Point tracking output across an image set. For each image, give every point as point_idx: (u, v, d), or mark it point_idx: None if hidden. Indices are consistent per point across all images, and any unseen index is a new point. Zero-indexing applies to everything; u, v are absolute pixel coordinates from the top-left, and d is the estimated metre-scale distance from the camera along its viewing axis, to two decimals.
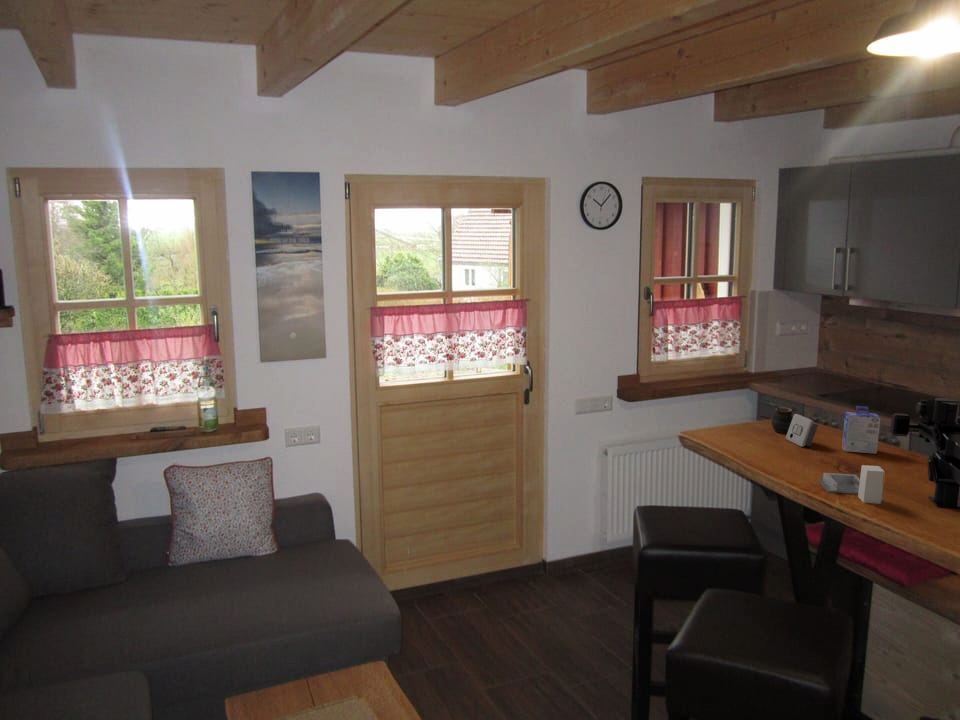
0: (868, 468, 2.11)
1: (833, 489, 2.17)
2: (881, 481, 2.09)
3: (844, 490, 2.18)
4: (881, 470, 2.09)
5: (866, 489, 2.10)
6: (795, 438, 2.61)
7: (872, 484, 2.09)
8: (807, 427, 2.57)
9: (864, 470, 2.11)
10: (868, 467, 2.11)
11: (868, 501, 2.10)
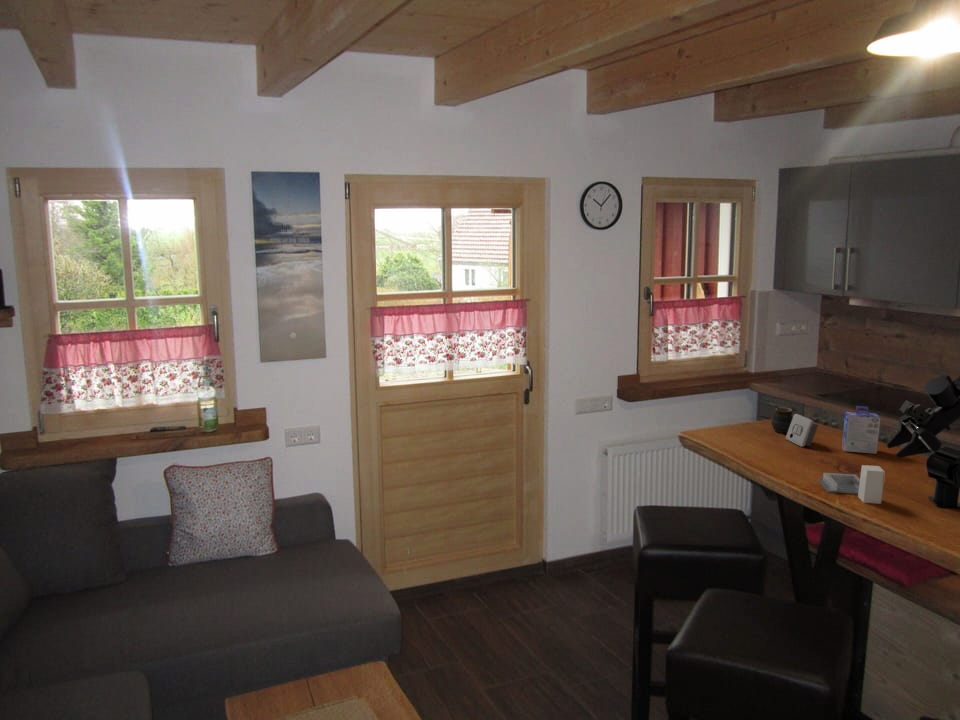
0: (868, 468, 2.11)
1: (833, 489, 2.17)
2: (881, 481, 2.09)
3: (844, 490, 2.18)
4: (881, 470, 2.09)
5: (866, 489, 2.10)
6: (795, 438, 2.61)
7: (872, 484, 2.09)
8: (807, 427, 2.57)
9: (864, 470, 2.11)
10: (868, 467, 2.11)
11: (868, 501, 2.10)
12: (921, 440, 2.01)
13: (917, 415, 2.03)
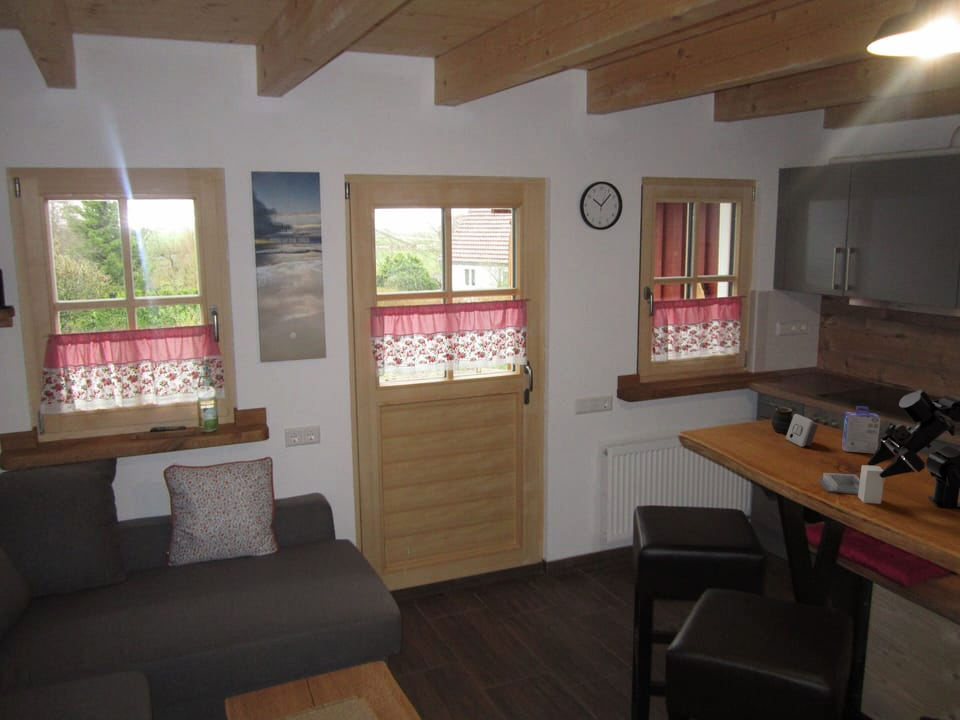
0: (868, 468, 2.11)
1: (833, 489, 2.17)
2: (881, 481, 2.09)
3: (844, 490, 2.18)
4: (881, 470, 2.09)
5: (866, 489, 2.10)
6: (795, 438, 2.61)
7: (872, 484, 2.09)
8: (807, 427, 2.57)
9: (864, 470, 2.11)
10: (868, 467, 2.11)
11: (868, 501, 2.10)
12: (905, 460, 2.01)
13: (899, 435, 2.04)
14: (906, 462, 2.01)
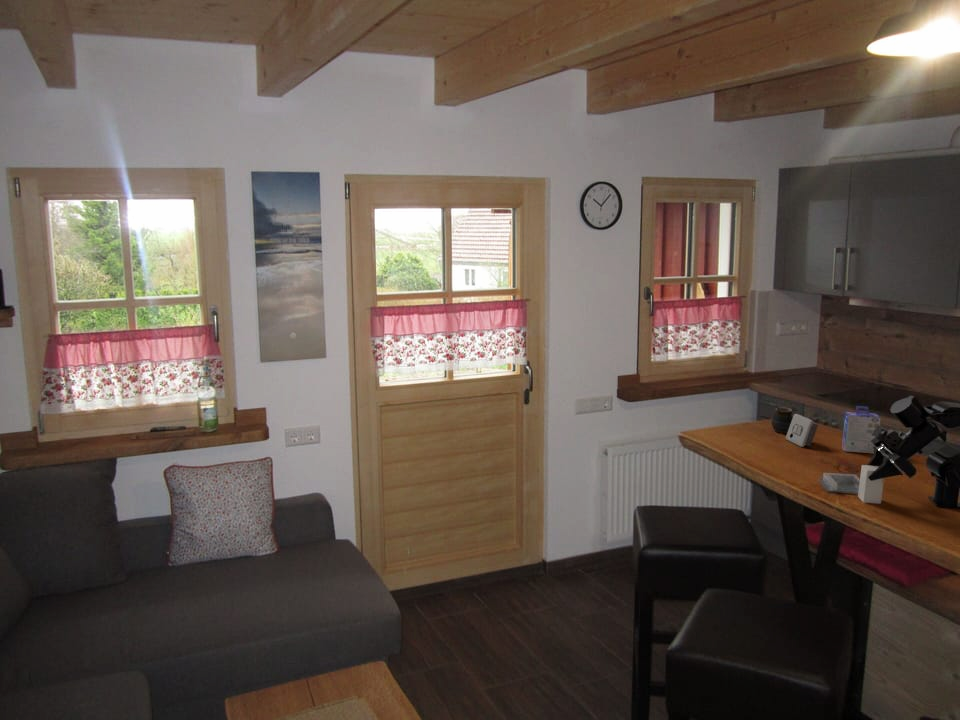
0: (868, 467, 2.11)
1: (833, 489, 2.17)
2: (881, 481, 2.09)
3: (844, 490, 2.18)
4: None
5: (866, 489, 2.10)
6: (795, 438, 2.61)
7: (872, 484, 2.09)
8: (807, 427, 2.57)
9: (864, 470, 2.11)
10: (868, 467, 2.11)
11: (868, 501, 2.10)
12: (893, 463, 2.04)
13: (891, 441, 2.04)
14: (894, 465, 2.04)
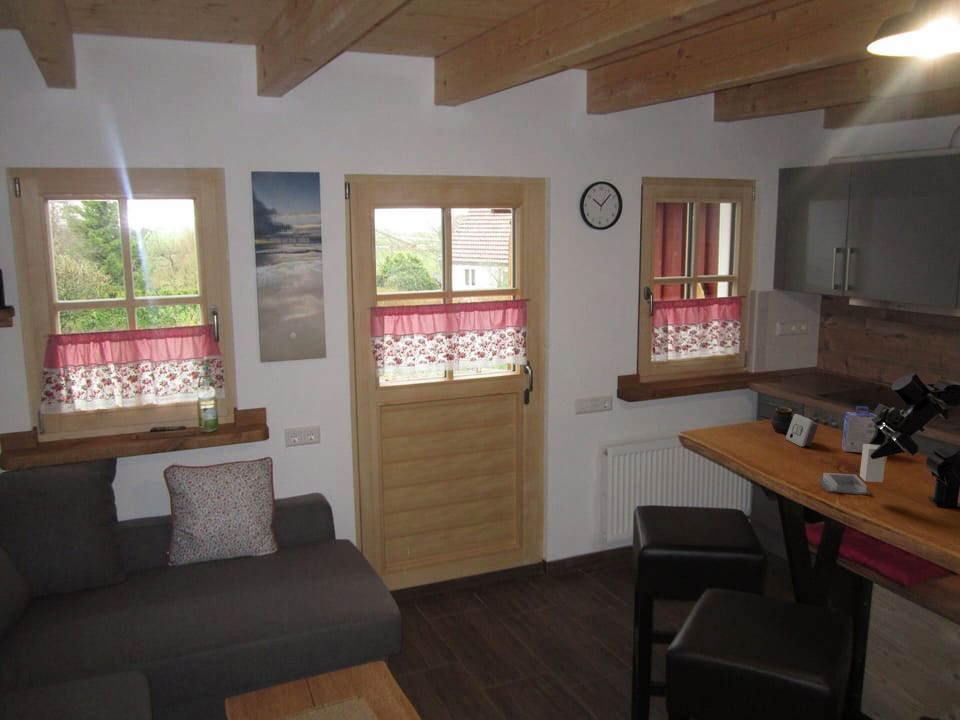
0: (870, 446, 2.10)
1: (833, 489, 2.17)
2: (883, 459, 2.08)
3: (844, 490, 2.18)
4: None
5: (867, 467, 2.09)
6: (795, 438, 2.61)
7: (874, 463, 2.08)
8: (807, 427, 2.57)
9: (866, 449, 2.10)
10: (870, 446, 2.10)
11: (870, 480, 2.09)
12: (895, 441, 2.03)
13: (892, 419, 2.03)
14: (896, 443, 2.03)
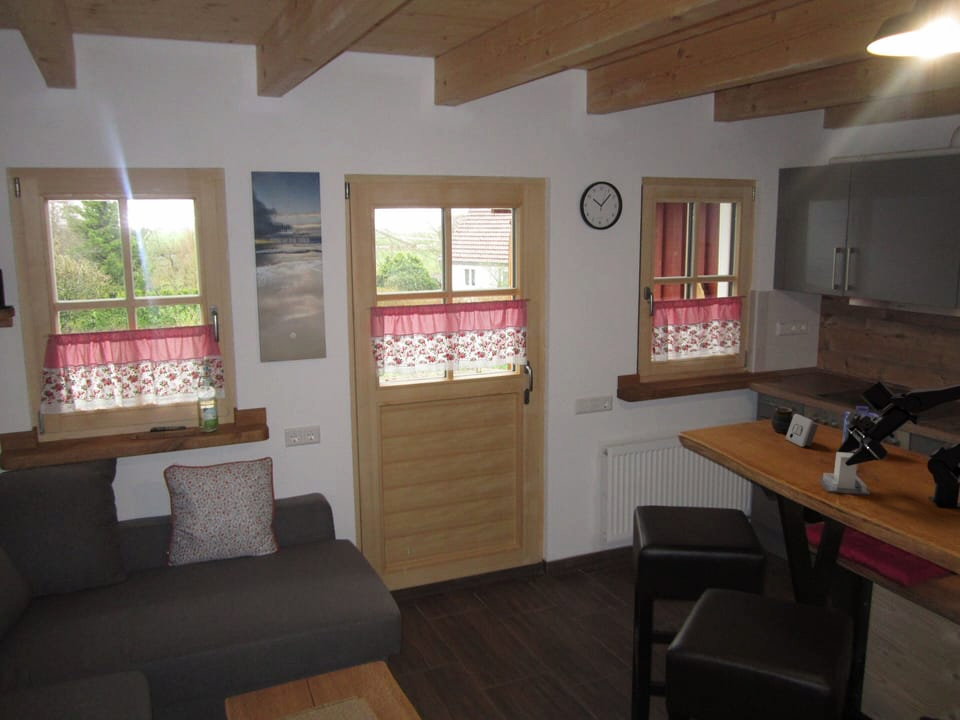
0: (842, 454, 2.20)
1: (833, 489, 2.17)
2: (855, 467, 2.18)
3: (844, 490, 2.18)
4: None
5: (840, 475, 2.19)
6: (795, 438, 2.61)
7: (846, 470, 2.18)
8: (807, 427, 2.57)
9: (838, 457, 2.20)
10: (842, 454, 2.20)
11: (842, 486, 2.19)
12: (868, 449, 2.11)
13: (863, 425, 2.13)
14: (869, 450, 2.11)
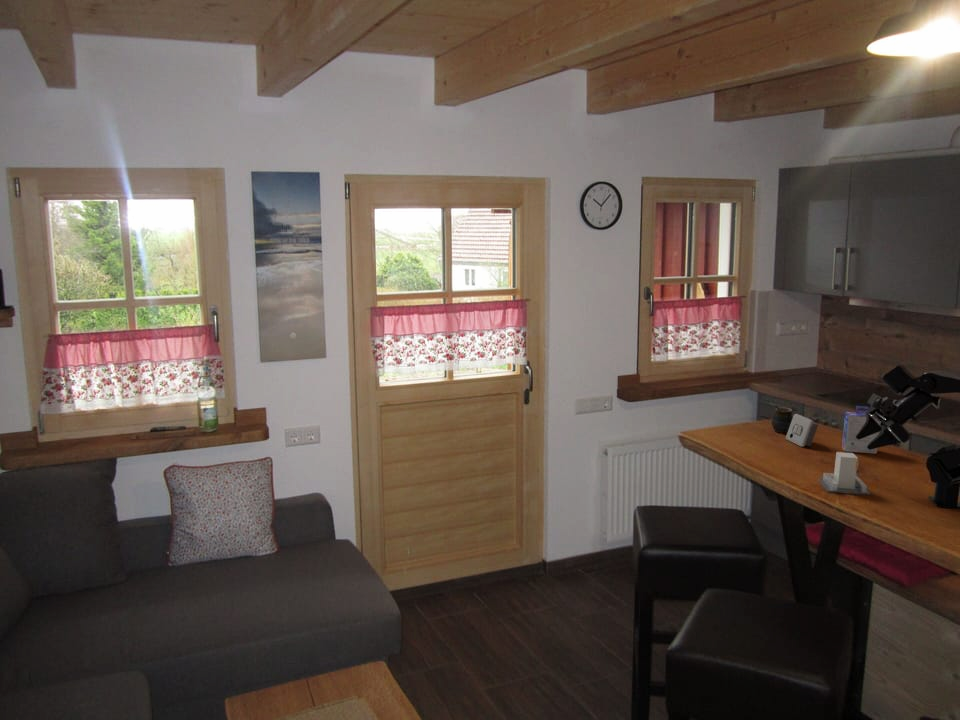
0: (842, 454, 2.20)
1: (833, 489, 2.17)
2: (855, 467, 2.18)
3: (844, 490, 2.18)
4: (854, 457, 2.18)
5: (840, 475, 2.19)
6: (795, 438, 2.61)
7: (846, 470, 2.18)
8: (807, 427, 2.57)
9: (838, 457, 2.20)
10: (842, 454, 2.20)
11: (842, 486, 2.19)
12: (891, 432, 2.09)
13: (885, 408, 2.12)
14: (892, 434, 2.09)
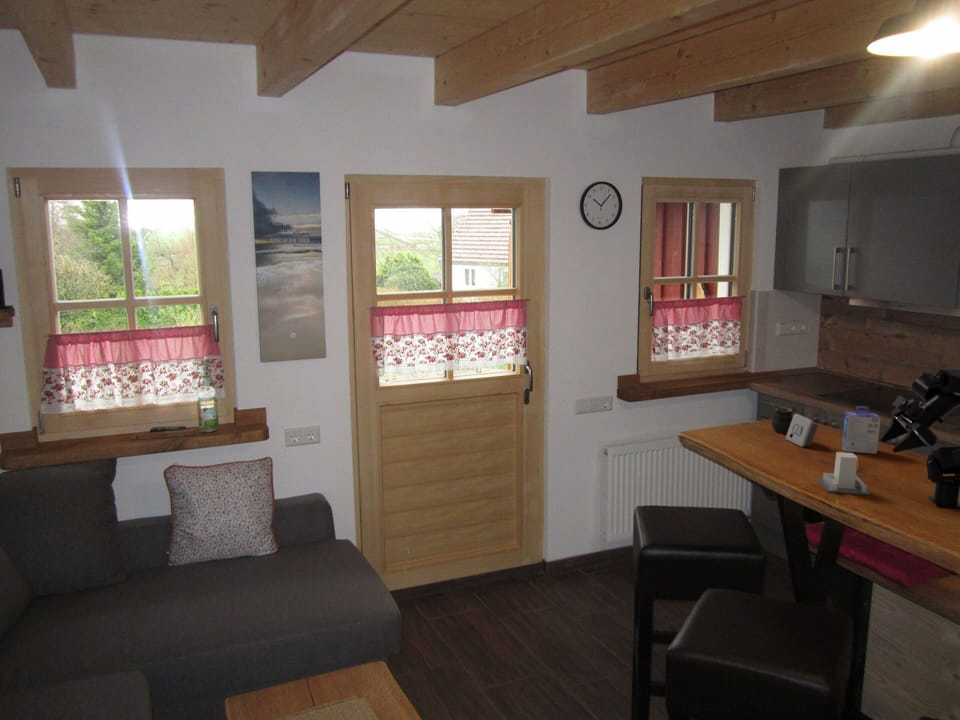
0: (842, 454, 2.20)
1: (833, 489, 2.17)
2: (855, 467, 2.18)
3: (844, 490, 2.18)
4: (854, 457, 2.18)
5: (840, 475, 2.19)
6: (795, 438, 2.61)
7: (846, 470, 2.18)
8: (807, 427, 2.57)
9: (838, 457, 2.20)
10: (842, 454, 2.20)
11: (842, 486, 2.19)
12: (917, 435, 2.05)
13: (911, 410, 2.08)
14: (919, 436, 2.05)
